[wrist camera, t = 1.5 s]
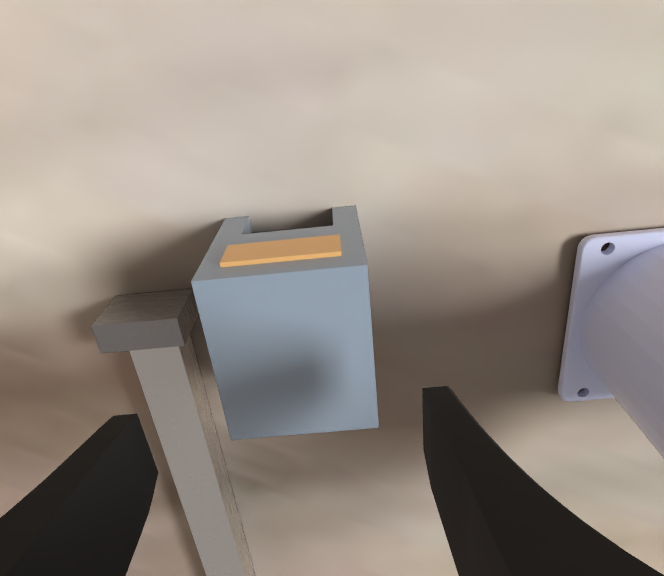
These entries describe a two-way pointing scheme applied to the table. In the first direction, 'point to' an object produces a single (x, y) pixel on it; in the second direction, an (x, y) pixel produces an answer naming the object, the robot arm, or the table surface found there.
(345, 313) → the block
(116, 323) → the rail
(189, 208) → the table surface
